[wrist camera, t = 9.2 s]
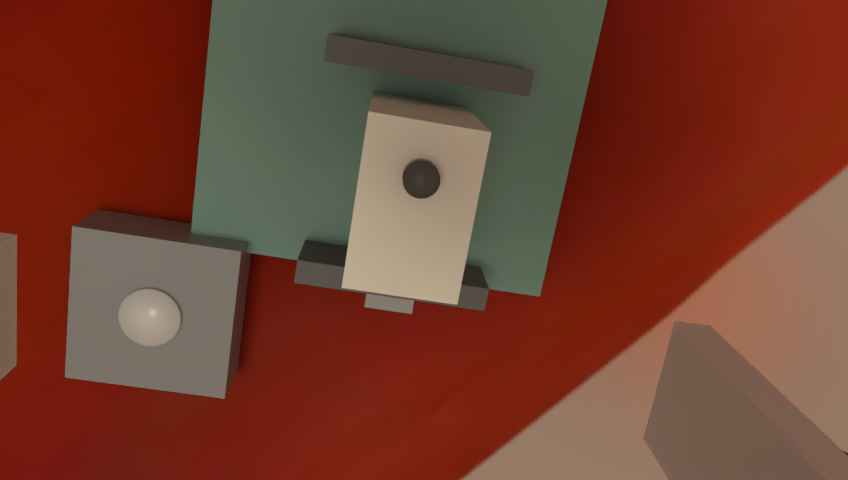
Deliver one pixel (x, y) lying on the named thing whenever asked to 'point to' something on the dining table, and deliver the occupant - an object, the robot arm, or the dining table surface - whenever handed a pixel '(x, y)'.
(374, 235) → the plug
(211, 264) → the button
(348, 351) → the dining table surface
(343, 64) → the board
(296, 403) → the dining table surface
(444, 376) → the dining table surface
